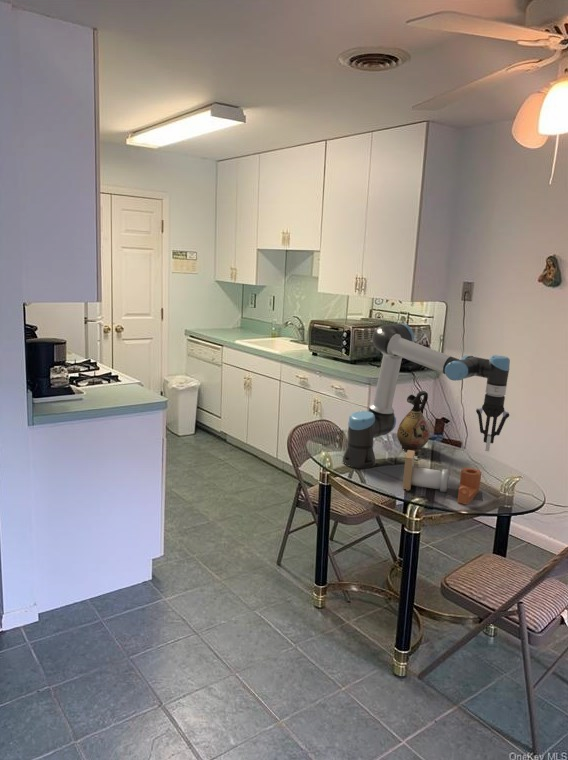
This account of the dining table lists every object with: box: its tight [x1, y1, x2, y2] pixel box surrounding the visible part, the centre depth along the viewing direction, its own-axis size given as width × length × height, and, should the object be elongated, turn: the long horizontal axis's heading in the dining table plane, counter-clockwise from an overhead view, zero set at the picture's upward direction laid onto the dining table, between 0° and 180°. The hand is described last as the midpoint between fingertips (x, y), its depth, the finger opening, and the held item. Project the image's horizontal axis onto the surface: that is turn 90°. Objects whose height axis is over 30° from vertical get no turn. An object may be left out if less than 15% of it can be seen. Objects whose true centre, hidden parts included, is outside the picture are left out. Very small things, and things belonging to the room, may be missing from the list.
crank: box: [457, 467, 482, 505], centre depth 233 cm, size 20×8×8 cm
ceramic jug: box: [396, 390, 430, 453], centre depth 285 cm, size 17×15×30 cm
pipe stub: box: [402, 450, 449, 493], centre depth 238 cm, size 17×10×14 cm, turn 73°
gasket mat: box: [446, 486, 484, 502], centre depth 235 cm, size 14×8×1 cm, turn 73°
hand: (487, 450), depth 235 cm, fingers closed
